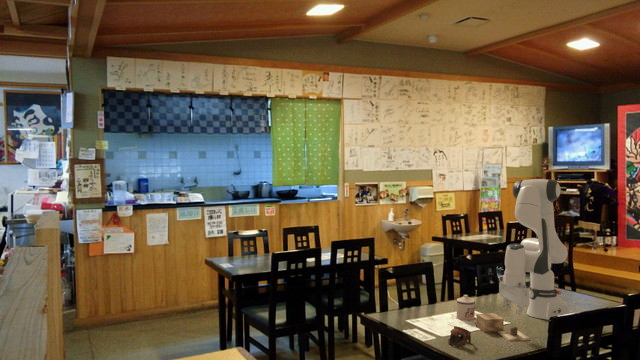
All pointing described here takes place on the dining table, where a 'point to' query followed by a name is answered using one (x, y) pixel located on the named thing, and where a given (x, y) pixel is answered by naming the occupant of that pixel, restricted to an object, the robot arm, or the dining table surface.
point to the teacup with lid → (465, 308)
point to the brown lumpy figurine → (457, 339)
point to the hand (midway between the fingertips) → (513, 311)
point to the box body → (489, 322)
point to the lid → (513, 334)
